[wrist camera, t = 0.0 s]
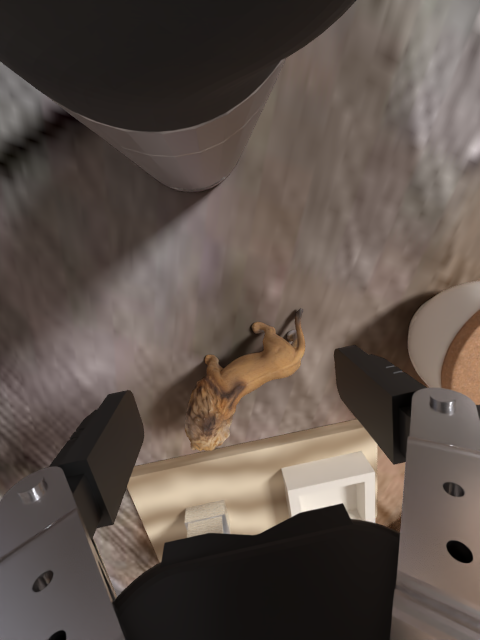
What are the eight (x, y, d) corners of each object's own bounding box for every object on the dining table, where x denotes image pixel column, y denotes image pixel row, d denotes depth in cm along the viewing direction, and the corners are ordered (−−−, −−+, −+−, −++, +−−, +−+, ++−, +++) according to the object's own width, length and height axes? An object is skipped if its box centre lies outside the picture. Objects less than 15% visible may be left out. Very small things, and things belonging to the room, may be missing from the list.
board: (127, 467, 33) (123, 478, 32) (370, 416, 34) (377, 424, 33) (162, 552, 39) (161, 565, 37) (371, 506, 40) (376, 516, 38)
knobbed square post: (185, 508, 34) (174, 638, 24) (224, 499, 34) (230, 625, 24) (192, 528, 36) (185, 660, 25) (229, 520, 36) (237, 648, 25)
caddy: (281, 468, 34) (287, 490, 31) (361, 450, 34) (375, 471, 31) (290, 523, 37) (296, 548, 34) (362, 507, 37) (375, 530, 35)
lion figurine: (211, 406, 31) (211, 474, 23) (177, 377, 30) (164, 439, 21) (314, 323, 29) (356, 365, 21) (283, 286, 28) (316, 316, 19)
